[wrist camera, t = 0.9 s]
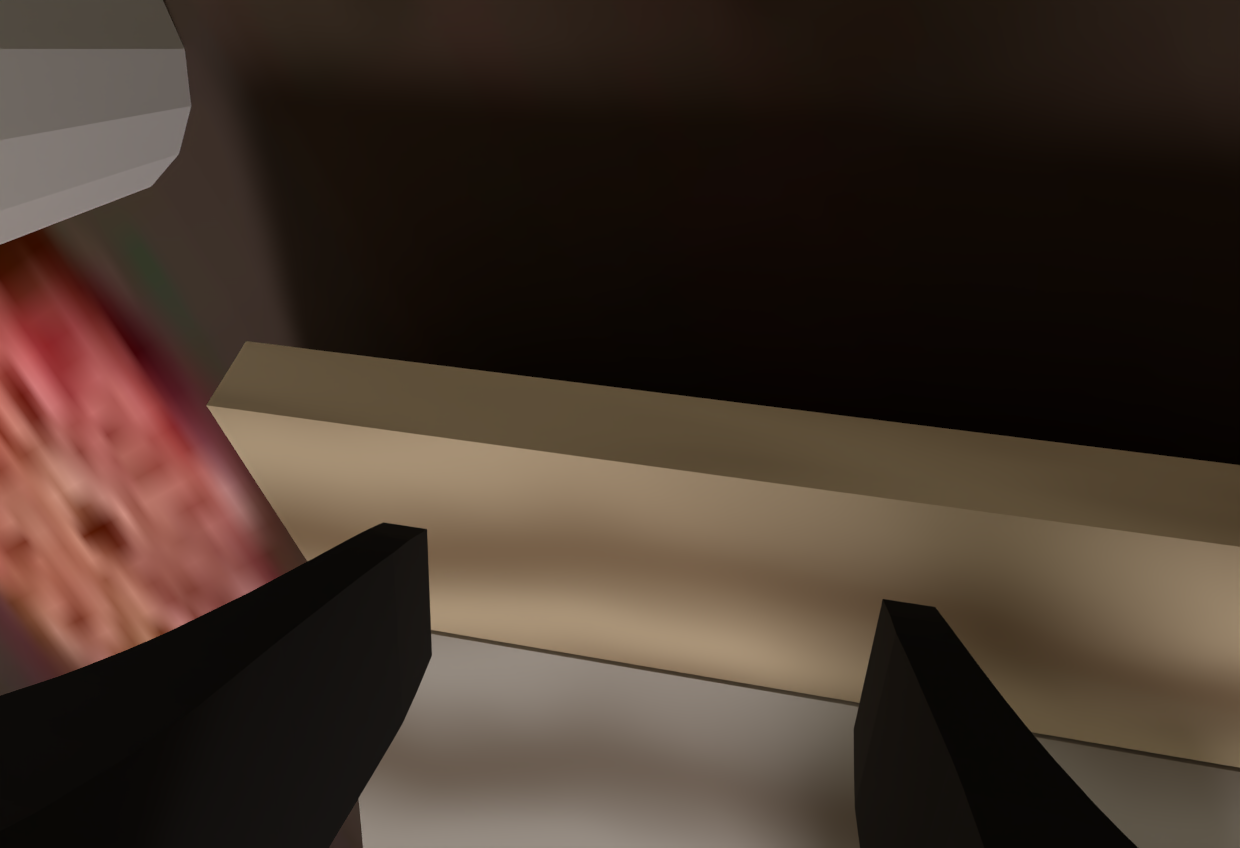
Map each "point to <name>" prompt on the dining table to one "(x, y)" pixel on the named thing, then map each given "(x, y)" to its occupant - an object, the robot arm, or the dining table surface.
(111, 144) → the white cup
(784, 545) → the oak plank
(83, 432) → the dining table surface
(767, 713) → the laid plank
